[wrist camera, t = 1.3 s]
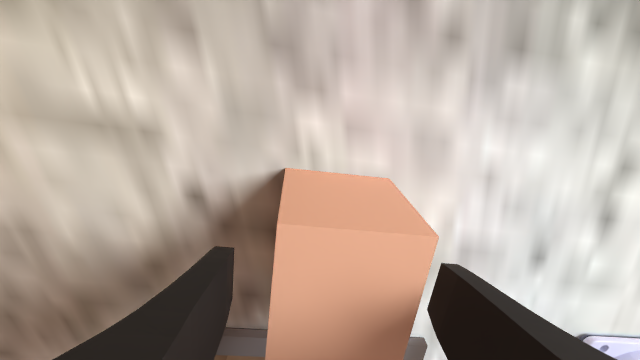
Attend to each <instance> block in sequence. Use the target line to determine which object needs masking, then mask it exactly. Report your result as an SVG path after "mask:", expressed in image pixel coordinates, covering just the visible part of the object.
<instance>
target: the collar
mask: <svg viewBox="0 0 640 360" xmlns="http://www.w3.org/2000/svg"><path fill="white" fill-rule="evenodd" d="M267 333H268V330H255V329H235V328H225V330H224V333H223V336H222V339H221V341H220V344H219V347H218V350H217V353H216V355H215V358H214V360H265V355H266V344H267ZM426 349H427V344H426V342H425V339H424V338H415V337H410V338H409V341H408V345H407V348H406V351H405V355H404V358H403V360H423V358H424V355H425V352H426Z"/></svg>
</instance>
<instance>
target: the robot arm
mask: <svg viewBox="0 0 640 360" xmlns="http://www.w3.org/2000/svg"><path fill="white" fill-rule="evenodd" d="M233 266H234V248H229V247H214V248H213V249H211V250H210V251H209V252H208V253H207V254H206V255H205V256H204V257H202V258H201V259H200V260H199V261H198V262H197V263H196V264H195V265H193V266H192V267H191V268H190V269H189V270H188V271H186V272H185V273H184V274H183V275H182V276H180V277H179V278H178V279H177V280H176V281H174V282H173V283H172V284H171V285H170V286H168V287H167V288H166V289H164V290H163V291H162V292H160V293H159V294H158V295H156V296H155V297H154V298H152V299H151V300H150V301H148V302H147V303H146V304H144V305H143V306H142V307H140V308H139V309H137V310H136V311H134V312H133V313H131V314H130V315H129V316H127V317H125V318H124V319H122V320H121V321H119V322H117V323H116V324H114V325H113V326H111V327H110V328H108V329H106V330H105V331H103V332H101V333H100V334H98V335H96V336H94V337H93V338H91V339H89V340H87V341H85V342H84V343H82V344H80V345H78V346H76V347H75V348H73V349H71V350H69V351H68V352H66V353H64V354H62V355H60V356H59V357H57V358H55V359H53V360H214V358H215V355H216V353H217V350H218V347H219V344H220V341H221V339H222V336H223V333H224V330H225V327H226V323H227V319H228V314H229V310H230V306H231V301H232V291H233ZM427 310H428V313H429V316H430V319H431V322H432V325H433V328H434V331H435V333H436V336H437V339H438V341H439V343H440V345H441V347H442V349H443V351H444V353H445V355H446V357H447V359H448V360H640V339H639V338H620V337H602V336H589V337H587V338H585V339H584V340H583V341H581V340H579V339H577V338H576V337H574V336H572V335H570V334H569V333H567V332H565V331H563V330H562V329H560V328H558V327H557V326H555V325H553V324H552V323H550V322H548V321H547V320H545V319H543V318H542V317H540V316H538V315H537V314H535V313H534V312H532V311H530V310H529V309H527V308H526V307H524V306H523V305H521V304H519V303H518V302H516V301H515V300H513V299H512V298H510V297H509V296H507V295H506V294H504V293H503V292H501V291H500V290H498V289H497V288H495V287H494V286H492V285H491V284H489V283H487V282H486V281H484V280H483V279H481V278H480V277H478V276H477V275H475V274H474V273H472V272H470V271H469V270H467V269H465V268H464V267H462V266H460V265H458V264H445V263H441V266H440V269H439V273H438V276H437V279H436V282H435V286H434V289H433V292H432V295H431V299H430V302H429V305H428V308H427Z"/></svg>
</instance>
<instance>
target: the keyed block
mask: <svg viewBox="0 0 640 360" xmlns="http://www.w3.org/2000/svg"><path fill="white" fill-rule="evenodd" d="M438 239H439V236H438V235H437V234H436V233H435V232H434V231H433V229H432V228H431V227H430V226H429V225H428V223H427V222H426V221H425V220H424V219H423V218H422V216H421V215H420V214H419V213H418V212H417V211H416V209H415V208H414V207H413V206H412V205H411V204H410V202H409V201H408V200H407V199H406V198H405V196H404V195H403V194H402V193H401V192H400V191H399V189H398V188H397V187H396V186H395V185H394V184H393V182H392V181H391V180H390V179H388V178H378V177H369V176H359V175H349V174H339V173H329V172H320V171H310V170H300V169H290V168H285V175H284V182H283V188H282V195H281V202H280V208H279V215H278V221H277V231H276V242H275V254H274V265H273V276H272V288H271V299H270V310H269V321H268V333H267V344H266V355H265V360H403V358H404V355H405V351H406V348H407V345H408V341H409V338H410V334H411V331H412V327H413V324H414V321H415V317H416V314H417V310H418V307H419V303H420V300H421V297H422V293H423V290H424V286H425V283H426V280H427V276H428V273H429V269H430V266H431V262H432V259H433V256H434V252H435V249H436V245H437V242H438Z"/></svg>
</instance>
